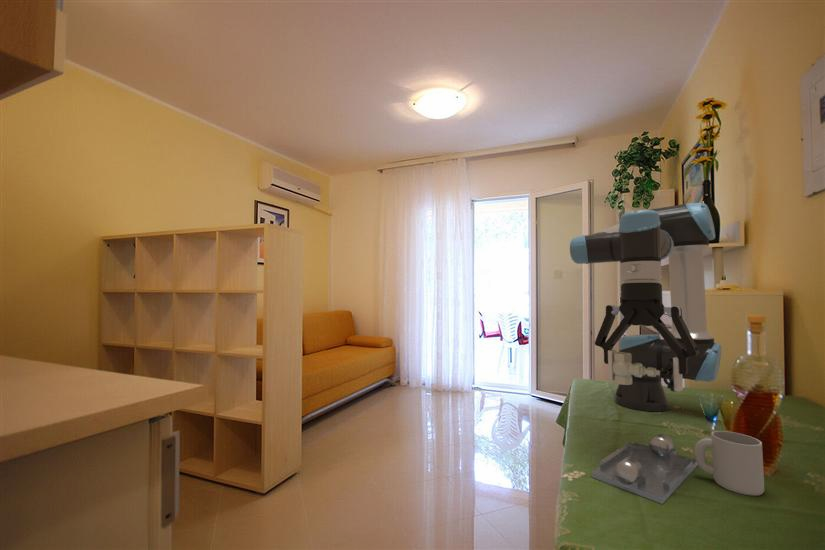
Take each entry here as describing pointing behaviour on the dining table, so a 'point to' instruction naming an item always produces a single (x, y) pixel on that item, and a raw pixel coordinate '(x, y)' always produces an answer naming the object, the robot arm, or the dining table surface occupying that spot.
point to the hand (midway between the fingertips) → (643, 384)
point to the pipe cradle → (646, 468)
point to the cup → (733, 461)
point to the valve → (638, 370)
